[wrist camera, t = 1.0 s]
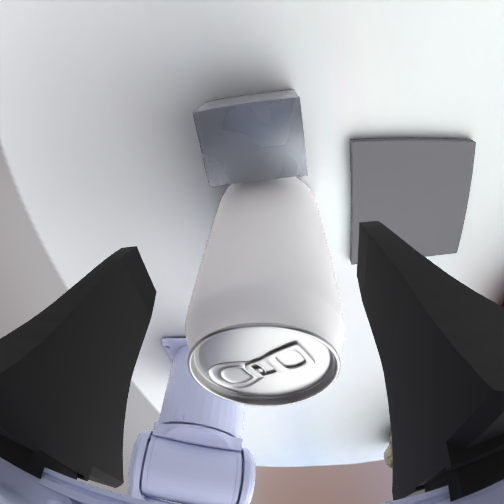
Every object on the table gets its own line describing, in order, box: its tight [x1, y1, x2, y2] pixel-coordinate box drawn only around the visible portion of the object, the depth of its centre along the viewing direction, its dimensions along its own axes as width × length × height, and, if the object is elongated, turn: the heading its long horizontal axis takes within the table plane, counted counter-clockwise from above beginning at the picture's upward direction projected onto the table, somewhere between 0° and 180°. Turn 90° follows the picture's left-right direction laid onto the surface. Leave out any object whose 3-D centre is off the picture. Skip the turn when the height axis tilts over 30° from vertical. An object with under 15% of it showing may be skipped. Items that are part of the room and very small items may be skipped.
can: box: [185, 177, 345, 406], centre depth 16 cm, size 6×6×12 cm
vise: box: [193, 90, 308, 187], centre depth 20 cm, size 17×5×4 cm, turn 9°
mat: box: [350, 138, 476, 264], centre depth 19 cm, size 9×9×1 cm
